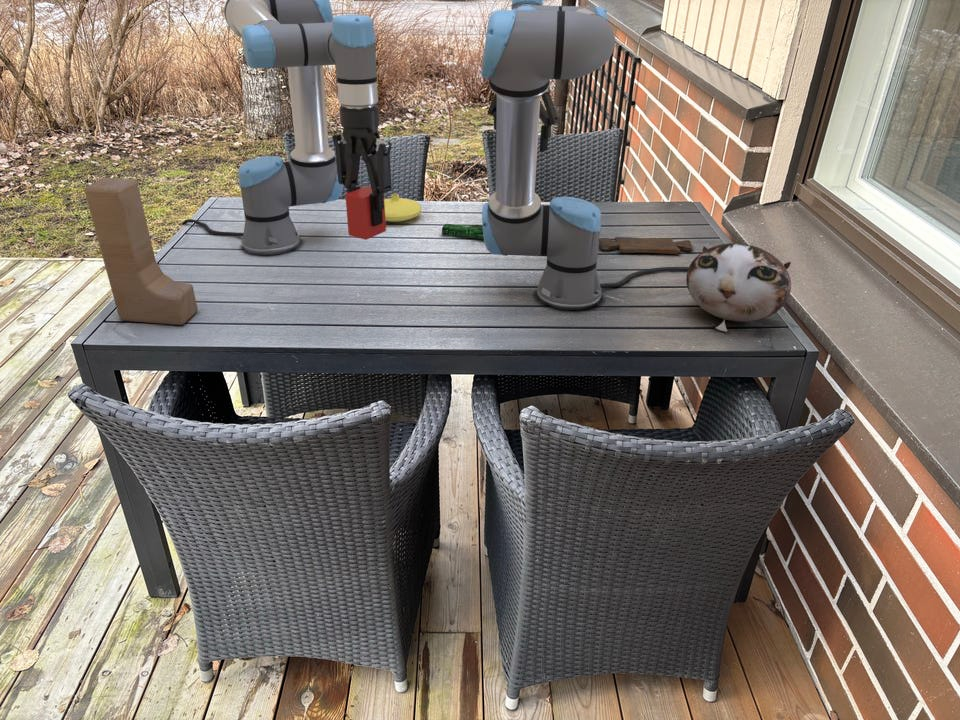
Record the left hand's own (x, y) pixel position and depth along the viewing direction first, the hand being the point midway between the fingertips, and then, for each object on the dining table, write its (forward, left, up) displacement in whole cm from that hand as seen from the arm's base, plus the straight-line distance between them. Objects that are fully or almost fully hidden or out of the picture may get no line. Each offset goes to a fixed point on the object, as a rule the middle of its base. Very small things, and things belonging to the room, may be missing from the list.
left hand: (367, 221), depth 148 cm
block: (0, 0, -3) cm, 3 cm away
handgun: (-11, +59, -23) cm, 64 cm away
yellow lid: (-38, +55, -23) cm, 70 cm away
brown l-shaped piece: (-40, -26, -23) cm, 53 cm away
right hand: (+1, +61, +3) cm, 61 cm away
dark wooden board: (+34, +76, -23) cm, 86 cm away
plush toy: (+66, +47, -23) cm, 84 cm away
